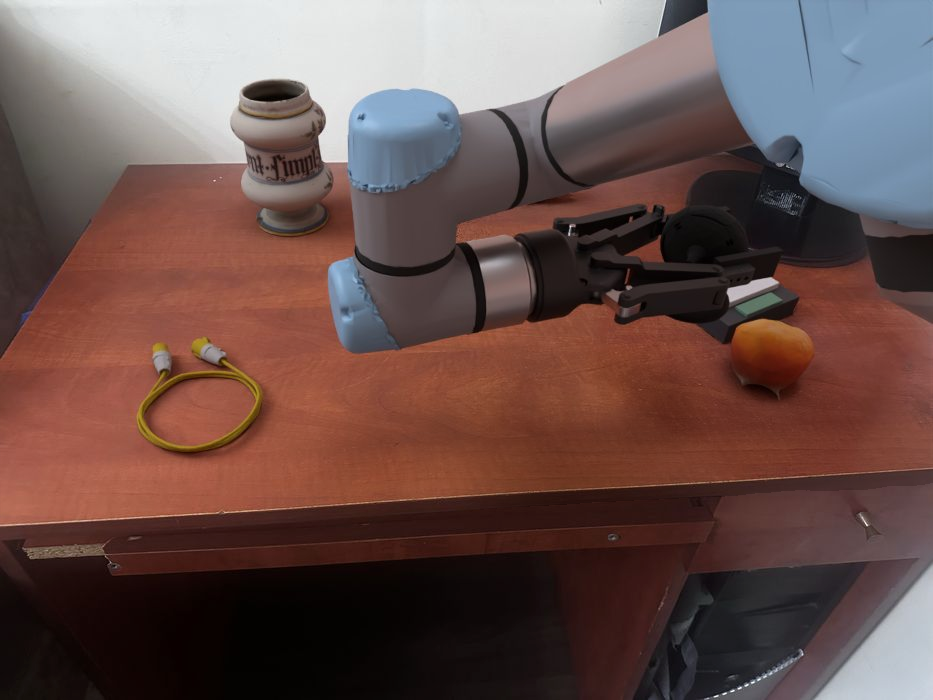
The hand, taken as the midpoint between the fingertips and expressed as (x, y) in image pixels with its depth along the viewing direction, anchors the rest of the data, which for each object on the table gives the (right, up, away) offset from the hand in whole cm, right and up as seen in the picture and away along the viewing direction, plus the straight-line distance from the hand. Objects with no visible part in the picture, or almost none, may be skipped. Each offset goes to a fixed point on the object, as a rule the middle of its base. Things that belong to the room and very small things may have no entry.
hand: (748, 240), depth 65 cm
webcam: (-5, -6, +3) cm, 8 cm away
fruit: (+6, -13, +12) cm, 19 cm away
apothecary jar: (-50, +8, +33) cm, 61 cm away
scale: (+5, -4, +22) cm, 23 cm away
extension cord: (-52, -15, +6) cm, 55 cm away
